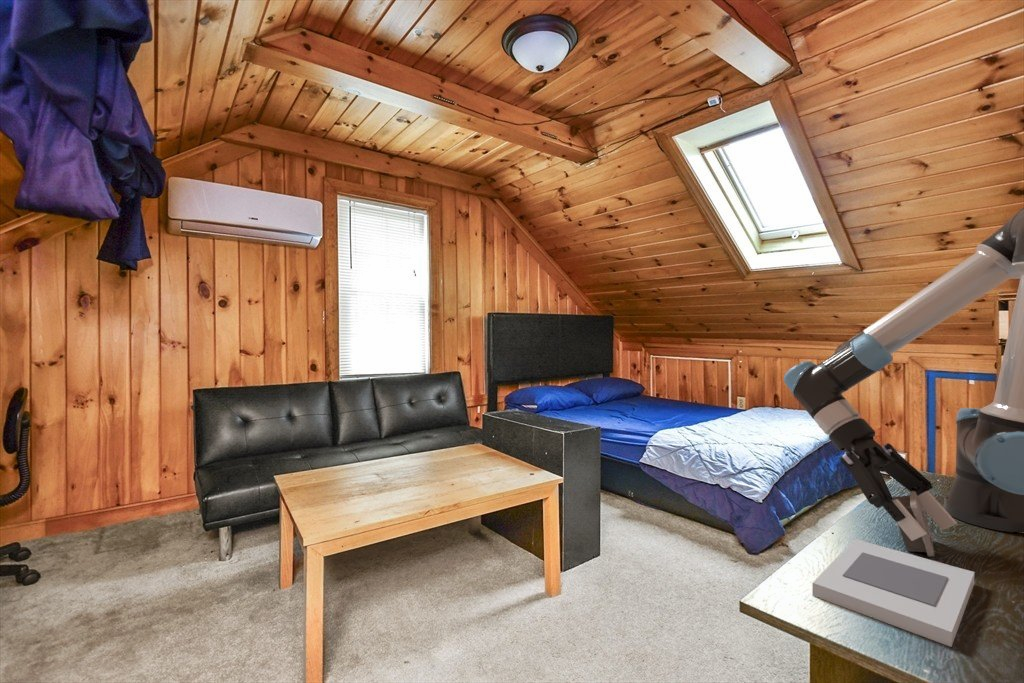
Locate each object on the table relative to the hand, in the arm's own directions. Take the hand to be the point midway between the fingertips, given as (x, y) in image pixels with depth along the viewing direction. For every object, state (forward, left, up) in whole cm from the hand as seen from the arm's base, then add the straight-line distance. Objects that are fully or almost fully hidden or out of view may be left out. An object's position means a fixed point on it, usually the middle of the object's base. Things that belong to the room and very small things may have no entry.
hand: (934, 532), depth 87 cm
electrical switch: (+1, -3, -4) cm, 5 cm away
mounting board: (+16, +11, -4) cm, 20 cm away
